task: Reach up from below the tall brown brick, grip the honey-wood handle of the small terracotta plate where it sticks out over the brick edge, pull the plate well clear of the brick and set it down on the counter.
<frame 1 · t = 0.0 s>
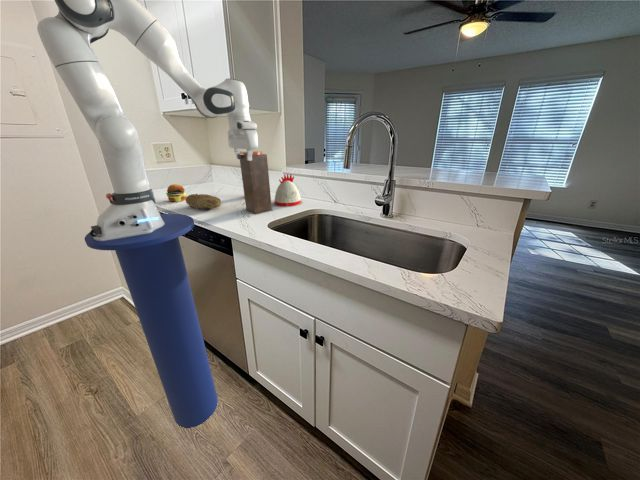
hand: (244, 159, 113), 24 cm above the worktop, tool pointing down, fingers open, 8 cm apart
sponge: (204, 208, 133), on the worktop
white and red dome: (288, 203, 140), on the worktop
tall brown brick: (259, 210, 127), on the worktop
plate: (252, 154, 117), point 26 cm above the worktop, touching tall brown brick
cheeseburger: (177, 200, 149), on the worktop
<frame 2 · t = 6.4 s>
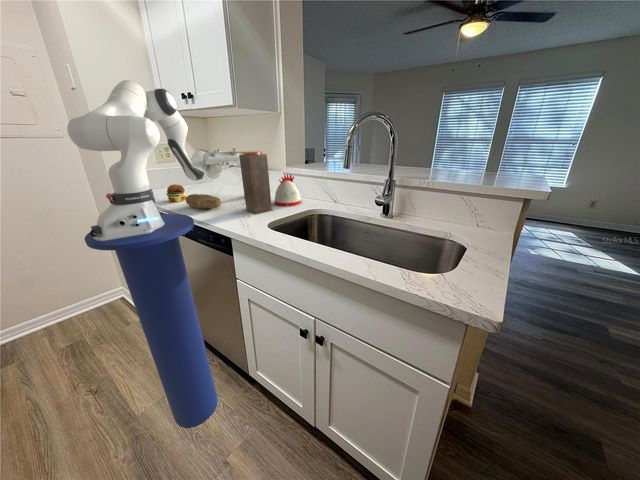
hand: (226, 150, 135), 27 cm above the worktop, tool pointing upward, fingers open, 8 cm apart
nothing on the worktop moved.
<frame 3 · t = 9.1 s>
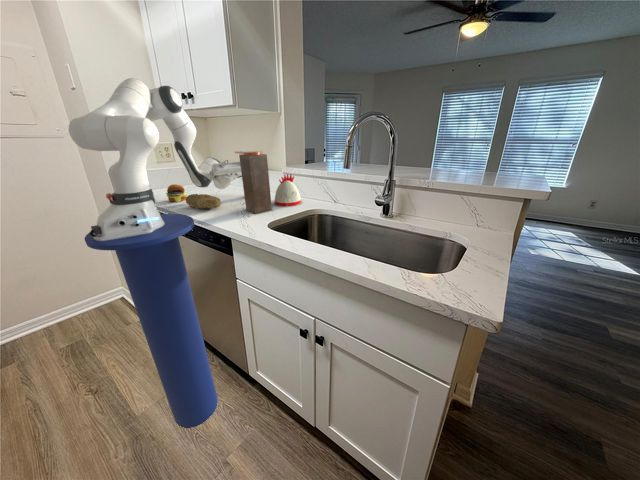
hand: (236, 160, 131), 22 cm above the worktop, tool pointing upward, fingers open, 8 cm apart
nothing on the worktop moved.
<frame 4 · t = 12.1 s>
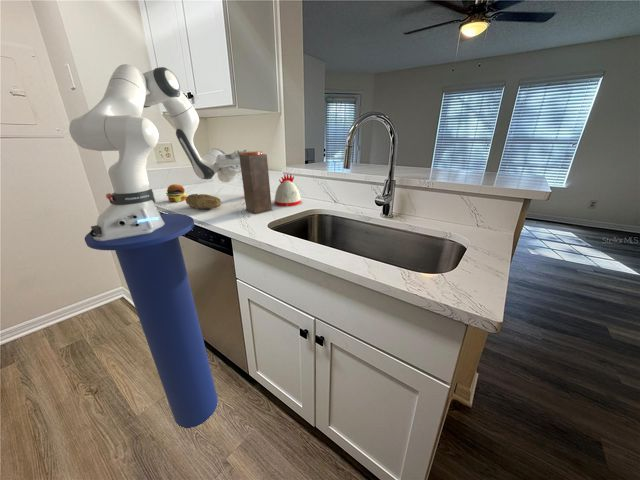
hand: (242, 151, 124), 27 cm above the worktop, tool pointing upward, fingers closed on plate, 3 cm apart
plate: (252, 154, 117), point 26 cm above the worktop, touching gripper, tall brown brick
everything else where it was.
when the fingers open (17 cm above the worktop, at t = 20.8 s): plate drops 16 cm, on the worktop.
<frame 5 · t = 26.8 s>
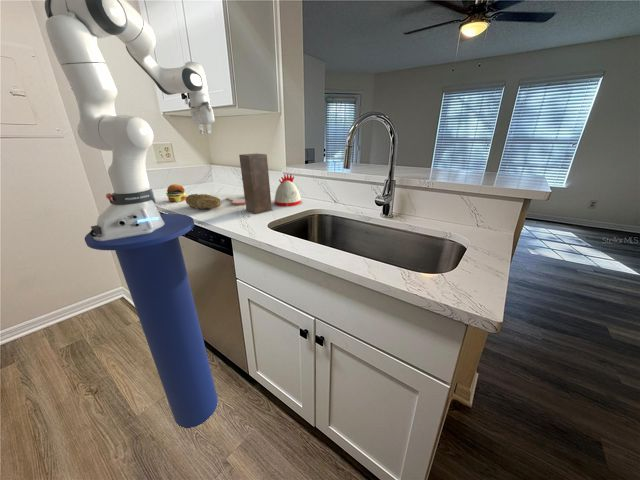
hand: (205, 133, 131), 35 cm above the worktop, tool pointing down, fingers open, 8 cm apart
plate: (240, 203, 140), on the worktop
everything else where it was.
at the end: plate inside the target area (0.5 cm from its centre), on the worktop; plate touching worktop; the gripper is holding nothing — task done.
